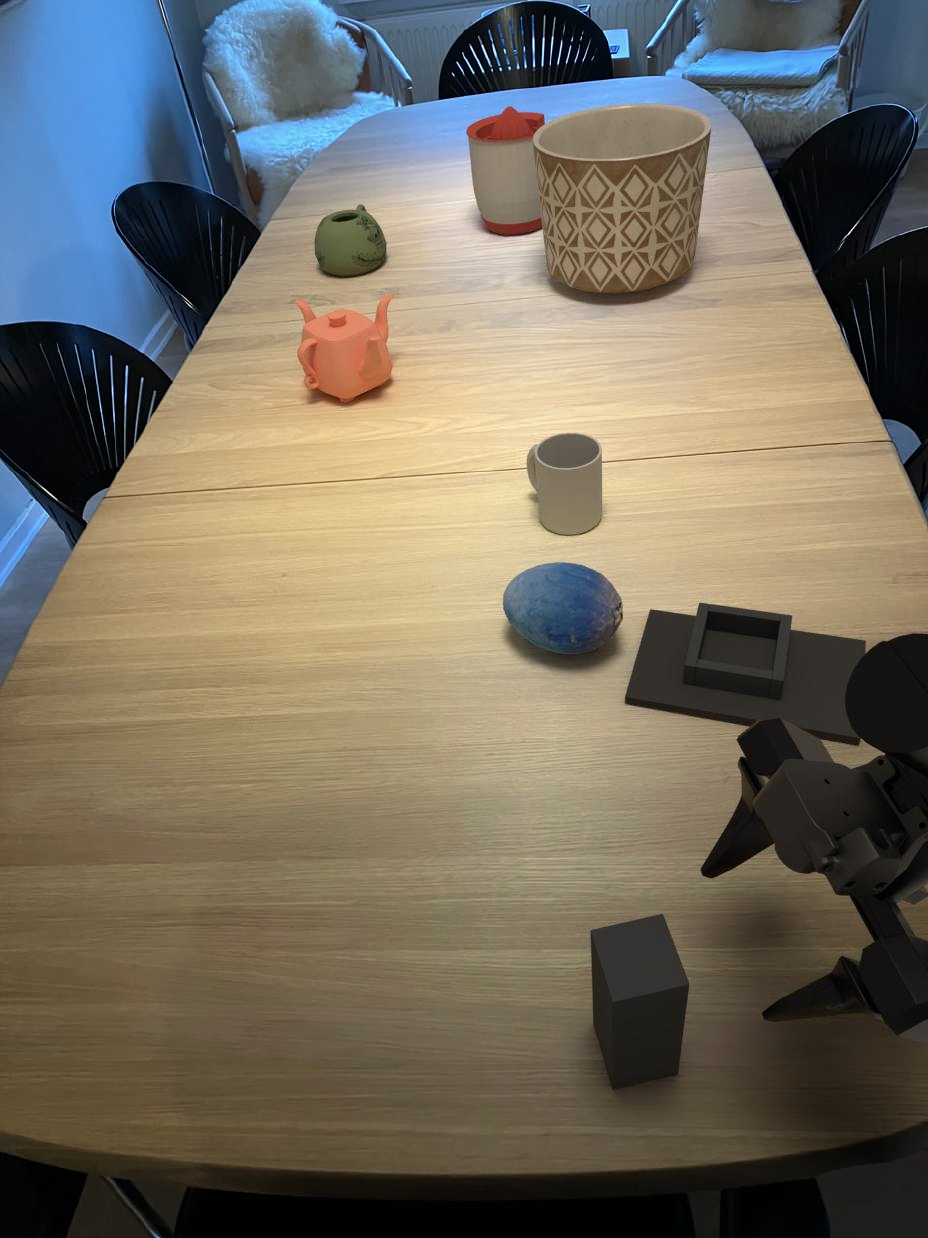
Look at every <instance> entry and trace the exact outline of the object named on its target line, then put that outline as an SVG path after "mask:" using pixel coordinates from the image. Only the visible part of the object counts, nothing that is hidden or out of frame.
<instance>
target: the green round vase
mask: <svg viewBox="0 0 928 1238" xmlns="http://www.w3.org/2000/svg"><path fill="white" fill-rule="evenodd" d="M387 246H388V245H387V239H386V237H385V234H384V232H383V230H382V228H381V226H380V224H379V222H378V221H377V220H376V219H375V218H374V216H373V215H372V214H371V213H369V212H367V209H366V206H365V205H364V204H362V203H359V204H357V206H356V209H354V208H353V209H343V210H339V211H334V212H332V213H329V214H327V215H326V216H325V217H323V218H322V219H321V221H320V222H319V224H318V226H317V229H316V232H315V237H314V256H315V258H316V260H317V263H318V265H319V267H320V269H321V270H322V271H323V272H326V273H329V274H331V275H333V276H339V277H348V276H350V277H351V276H356V275H361V274H366V273H368V272H371V271H372V270H374V269H376V268H377V267H379V266H380V265H382V263H383V262H384V261H385V260H386V257H387Z"/></svg>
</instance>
